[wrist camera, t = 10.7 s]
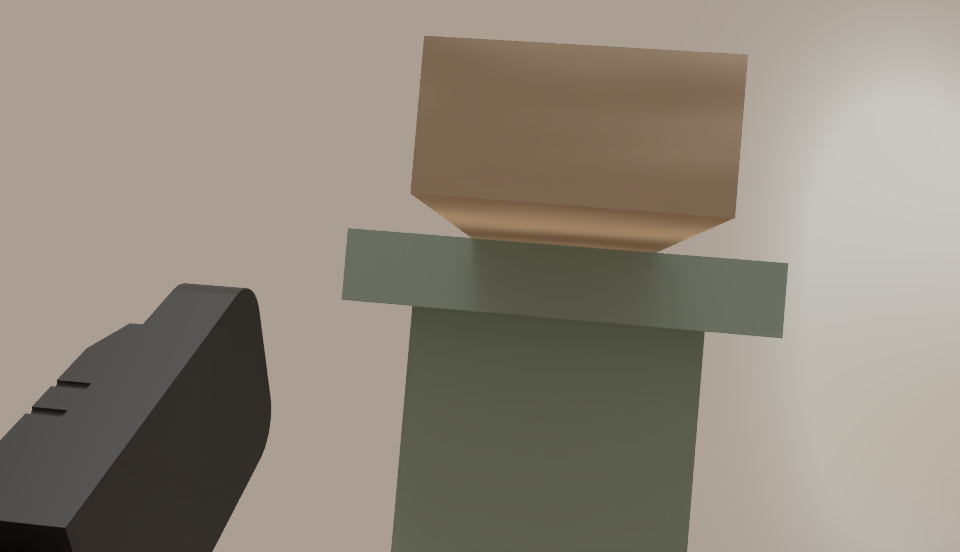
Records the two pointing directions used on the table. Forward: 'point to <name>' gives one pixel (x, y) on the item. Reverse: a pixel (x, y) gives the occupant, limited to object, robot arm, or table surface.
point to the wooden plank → (578, 141)
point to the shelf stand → (552, 386)
